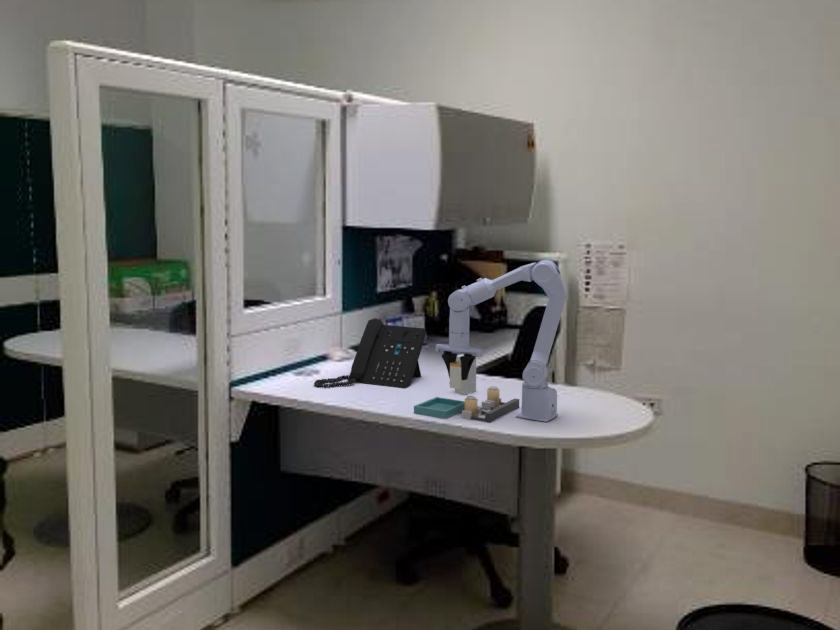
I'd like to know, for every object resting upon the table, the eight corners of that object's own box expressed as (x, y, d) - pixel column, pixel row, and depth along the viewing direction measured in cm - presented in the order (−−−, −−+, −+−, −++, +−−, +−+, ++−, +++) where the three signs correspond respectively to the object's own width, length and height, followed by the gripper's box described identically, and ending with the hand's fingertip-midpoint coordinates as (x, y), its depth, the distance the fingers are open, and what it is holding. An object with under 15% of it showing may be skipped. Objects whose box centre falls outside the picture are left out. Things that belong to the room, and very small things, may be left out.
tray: (467, 408, 232) (467, 401, 232) (445, 418, 222) (445, 411, 222) (436, 403, 238) (436, 396, 238) (413, 413, 227) (413, 406, 227)
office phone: (309, 387, 259) (308, 326, 256) (352, 370, 284) (351, 314, 281) (389, 397, 247) (389, 333, 244) (426, 378, 272) (427, 320, 269)
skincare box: (465, 389, 256) (465, 352, 254) (476, 391, 253) (476, 354, 251) (454, 392, 251) (454, 355, 249) (465, 395, 249) (465, 357, 247)
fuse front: (479, 416, 225) (479, 396, 224) (473, 418, 222) (473, 399, 221) (468, 414, 227) (468, 394, 226) (462, 417, 224) (462, 397, 223)
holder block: (519, 407, 234) (519, 399, 234) (489, 422, 218) (489, 413, 218) (492, 403, 239) (493, 395, 238) (462, 417, 223) (462, 409, 223)
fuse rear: (501, 405, 236) (501, 386, 236) (495, 408, 233) (496, 389, 233) (490, 403, 238) (490, 385, 238) (484, 406, 235) (485, 387, 235)
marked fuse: (466, 386, 230) (467, 362, 228) (460, 389, 227) (460, 364, 225) (455, 385, 231) (456, 360, 230) (449, 387, 228) (450, 363, 227)
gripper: (488, 332, 226) (487, 379, 228) (444, 327, 234) (443, 372, 236) (476, 336, 220) (475, 384, 222) (431, 330, 228) (431, 377, 230)
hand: (458, 378), depth 229 cm, fingers closed on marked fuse, 4 cm apart
